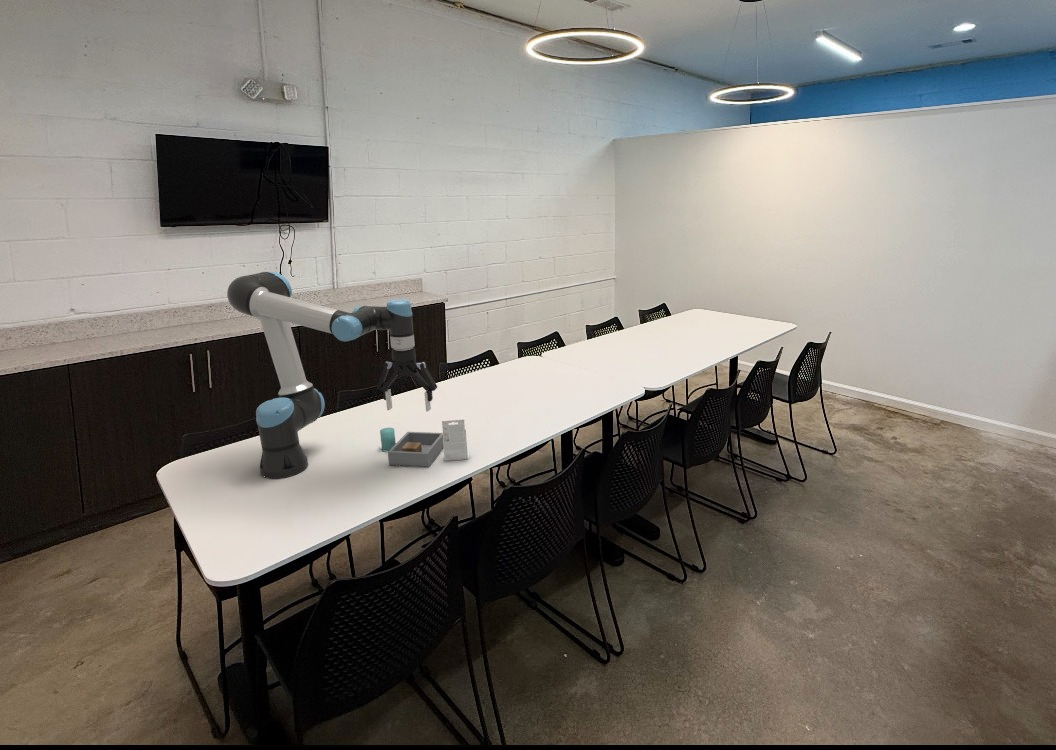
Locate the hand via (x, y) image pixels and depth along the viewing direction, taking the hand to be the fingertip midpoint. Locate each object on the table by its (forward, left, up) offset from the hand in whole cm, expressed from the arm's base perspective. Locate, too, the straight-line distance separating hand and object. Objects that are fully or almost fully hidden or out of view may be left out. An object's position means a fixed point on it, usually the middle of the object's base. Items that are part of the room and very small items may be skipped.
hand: (409, 409), depth 196 cm
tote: (0, +4, -19) cm, 19 cm away
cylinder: (-13, +9, -19) cm, 24 cm away
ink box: (+14, +3, -19) cm, 24 cm away
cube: (0, 0, -18) cm, 18 cm away
